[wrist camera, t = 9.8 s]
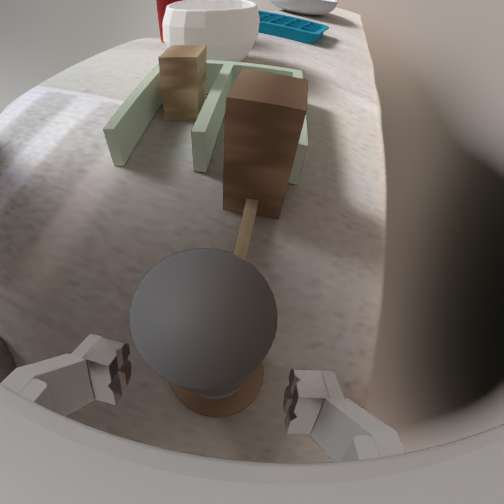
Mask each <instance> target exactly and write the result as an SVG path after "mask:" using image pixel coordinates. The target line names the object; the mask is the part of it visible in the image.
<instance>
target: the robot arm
mask: <svg viewBox="0 0 504 504" xmlns="http://www.w3.org/2000/svg"><path fill="white" fill-rule="evenodd" d="M129 354H130V350H129V345H128V344H127V343H125V342H121V341H117V340H114V339H110V338H106V337H103V336H99V335H96V334H89V335H88V336H87V337H86V339H85V340H84V341H83V342H82V343H81V344H80V345H79V346H78V347H77V348H76V349H75V350H74V351H73V352H72V353H71V354H63V355H60V356H57V357H53V358H50V359H46V360H43V361H39V362H36V363H32V364H28V365H25V366H21V367H17V368H16V369H15V370H14V371H13V372H12V373H11V374H10V375H8V376H7V377H6V378H5V379H4V380H3V381H2V382H1V383H0V504H504V424H502V425H499V426H497V427H494V428H492V429H489V430H487V431H484V432H481V433H478V434H476V435H472V436H469V437H466V438H463V439H460V440H457V441H453V442H450V443H446V444H443V445H439V446H435V447H431V448H427V449H423V450H418V451H413V452H408V453H406V451H405V449H404V446H403V445H402V442H401V440H400V438H399V436H398V434H397V432H396V431H395V430H394V429H392V428H391V427H389V426H388V425H387V424H385V423H384V422H382V421H380V420H379V419H378V418H376V417H375V416H373V415H371V414H370V413H369V412H367V411H366V410H364V409H363V408H362V407H360V406H359V405H357V404H356V403H354V402H353V401H352V400H350V399H349V398H344V395H343V392H342V390H341V387H340V384H339V382H338V379H337V377H336V374H335V372H334V371H333V370H300V369H292V370H291V372H290V375H289V383H290V385H289V386H287V387H286V390H285V394H284V412H285V413H286V414H287V415H286V419H285V425H286V433H287V434H300V435H310V436H311V437H312V438H313V439H314V441H315V442H316V443H317V444H318V445H319V446H320V447H321V448H322V449H323V450H324V452H325V453H326V454H327V455H328V456H329V457H330V458H331V459H332V460H333V461H334V462H327V463H267V462H252V461H240V460H231V459H222V458H215V457H208V456H201V455H195V454H190V453H184V452H179V451H174V450H169V449H165V448H161V447H156V446H152V445H148V444H144V443H141V442H137V441H133V440H130V439H126V438H123V437H120V436H117V435H114V434H110V433H107V432H104V431H102V430H99V429H96V428H93V427H90V426H88V425H85V424H82V423H80V422H77V421H75V420H72V419H70V418H68V417H66V416H68V415H69V414H71V413H73V412H75V411H77V410H79V409H80V408H82V407H84V406H86V405H88V404H89V403H91V402H93V401H95V400H98V401H102V402H105V403H109V404H112V405H116V404H117V402H118V400H119V399H120V397H121V395H122V390H121V389H122V388H124V387H126V386H127V384H128V382H129V380H130V376H131V363H130V361H129V360H128V359H127V357H128V355H129ZM94 399H95V400H94Z"/></svg>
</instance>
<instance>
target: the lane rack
mask: <svg viewBox="0 0 504 504" xmlns="http://www.w3.org/2000/svg"><path fill="white" fill-rule="evenodd" d="M242 69H249V70H256V71H263V72H269V73H275V74H281V75H287V76H292V77H297V78H302V79H303V75H302V71H301V70H296V69H290V68H284V67H277V66H270V65H263V64H254V63H245V62H233V61H219V60H206V94H208V96H207V98H206V100H205V102H204V104H203V106H202V109H201V111H200V113H199V115H198V117H197V119H196V121H195V124H194V126H193V128H192V130H191V138H192V153H193V166H194V171H197V172H206V171H207V168H208V165H209V162H210V158H211V155H212V152H213V149H214V146H215V143H216V139H217V136H218V133H219V130H220V127H221V124H222V121H223V118H224V116H225V111H226V96H227V95H228V93H229V91H230V89H231V87H232V85H233V84H234V82H235V80H236V78H237V77H238V75H239V73H240V71H241V70H242ZM162 103H163V100H162V91H161V81H160V70H159V64H158V65H157V66H156V67H155V68H154V69H153V70H152V71H151V72H150V73H149V74H148V75H147V76H146V77H145V78H144V80H143V81H142V82H141V83H140V84H139V85H138V86H137V87H136V89H135V90H134V91H133V92H132V93H131V94H130V96H129V97H128V98H127V99H126V100H125V102H124V103H123V104H122V105H121V107H120V108H119V109H118V110H117V112H116V113H115V114H114V115H113V117H112V118H111V119H110V121H109V122H108V123H107V125H106V126H105V127H104V129H103V131H104V134H105V138H106V141H107V144H108V148H109V151H110V154H111V157H112V160H113V163H114V166H125V164H126V162H127V160H128V158H129V157H130V155H131V153H132V151H133V150H134V148H135V146H136V144H137V143H138V141H139V139H140V138H141V136H142V134H143V133H144V131H145V129H146V128H147V126H148V125H149V123H150V121H151V120H152V118H153V117H154V115H155V114H156V112H157V111H158V109H159V108H160V106H161V105H162ZM307 148H308V135H307V121H306V115H305V119H304V123H303V127H302V131H301V135H300V139H299V143H298V147H297V151H296V155H295V159H294V163H293V166H292V170H291V174H290V178H289V182H288V183H290V184H296V185H297V182H298V179H299V176H300V172H301V169H302V165H303V162H304V159H305V155H306V152H307Z"/></svg>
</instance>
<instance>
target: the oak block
mask: <svg viewBox="0 0 504 504" xmlns="http://www.w3.org/2000/svg"><path fill="white" fill-rule="evenodd" d="M206 54H207V45H171V46H170V47H169V48H168V49H167V50H166V51H165V52H164V53H163V54H162V55H161V56H160V57H159V70H160V81H161V91H162V100H163V109H164V117H165V119H173V120H192V121H196V119H197V117H198V115H199V113H200V111H201V109H202V106H203V104H204V102H205V100H206Z"/></svg>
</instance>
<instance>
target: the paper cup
mask: <svg viewBox="0 0 504 504" xmlns="http://www.w3.org/2000/svg"><path fill="white" fill-rule="evenodd" d="M156 1H157V11H158V20H159V28H160V36H161V41H162V42H163V43H164V41H163V28H162V22H163V18H164V15H165V11H166V7H167V5H169V4H172V3H174V2H178V1H183V0H156Z"/></svg>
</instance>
